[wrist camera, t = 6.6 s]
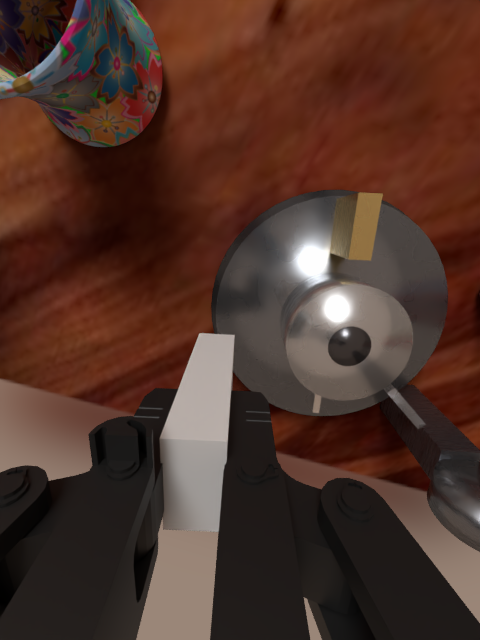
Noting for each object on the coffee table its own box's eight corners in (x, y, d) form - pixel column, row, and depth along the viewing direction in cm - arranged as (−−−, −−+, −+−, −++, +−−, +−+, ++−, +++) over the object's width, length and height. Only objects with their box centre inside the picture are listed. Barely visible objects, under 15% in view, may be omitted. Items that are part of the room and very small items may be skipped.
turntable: (215, 399, 25) (206, 445, 20) (221, 191, 20) (211, 180, 15) (408, 410, 25) (450, 460, 20) (460, 203, 20) (534, 196, 15)
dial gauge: (349, 407, 27) (430, 558, 15) (359, 353, 25) (459, 472, 13) (421, 411, 27) (562, 567, 15) (435, 357, 25) (607, 481, 13)
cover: (273, 362, 22) (279, 395, 18) (286, 267, 20) (296, 279, 16) (368, 371, 22) (396, 406, 18) (390, 277, 20) (428, 291, 16)
